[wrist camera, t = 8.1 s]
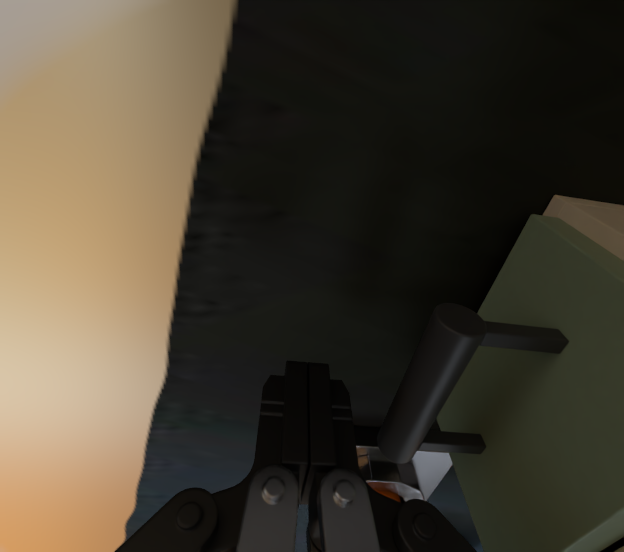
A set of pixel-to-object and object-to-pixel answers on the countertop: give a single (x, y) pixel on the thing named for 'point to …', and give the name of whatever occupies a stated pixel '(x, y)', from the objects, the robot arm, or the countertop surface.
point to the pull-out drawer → (528, 397)
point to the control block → (399, 468)
